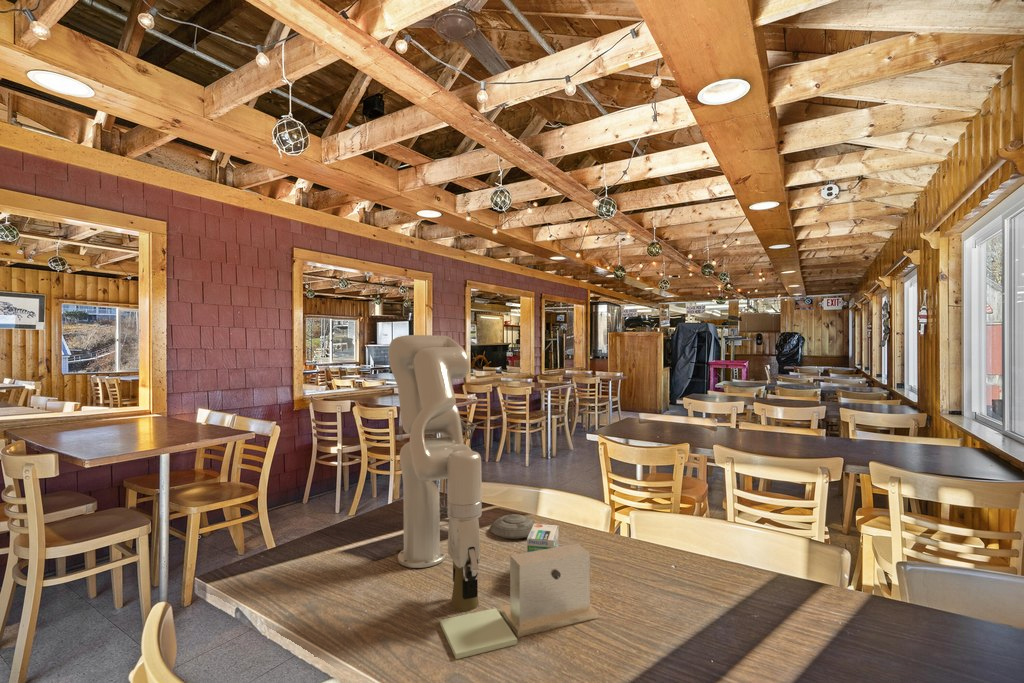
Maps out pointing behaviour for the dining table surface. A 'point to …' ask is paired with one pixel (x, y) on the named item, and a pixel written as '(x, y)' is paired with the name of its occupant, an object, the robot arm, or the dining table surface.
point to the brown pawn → (457, 598)
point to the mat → (477, 633)
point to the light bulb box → (543, 537)
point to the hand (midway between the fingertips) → (464, 589)
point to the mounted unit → (549, 589)
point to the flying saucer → (512, 526)
